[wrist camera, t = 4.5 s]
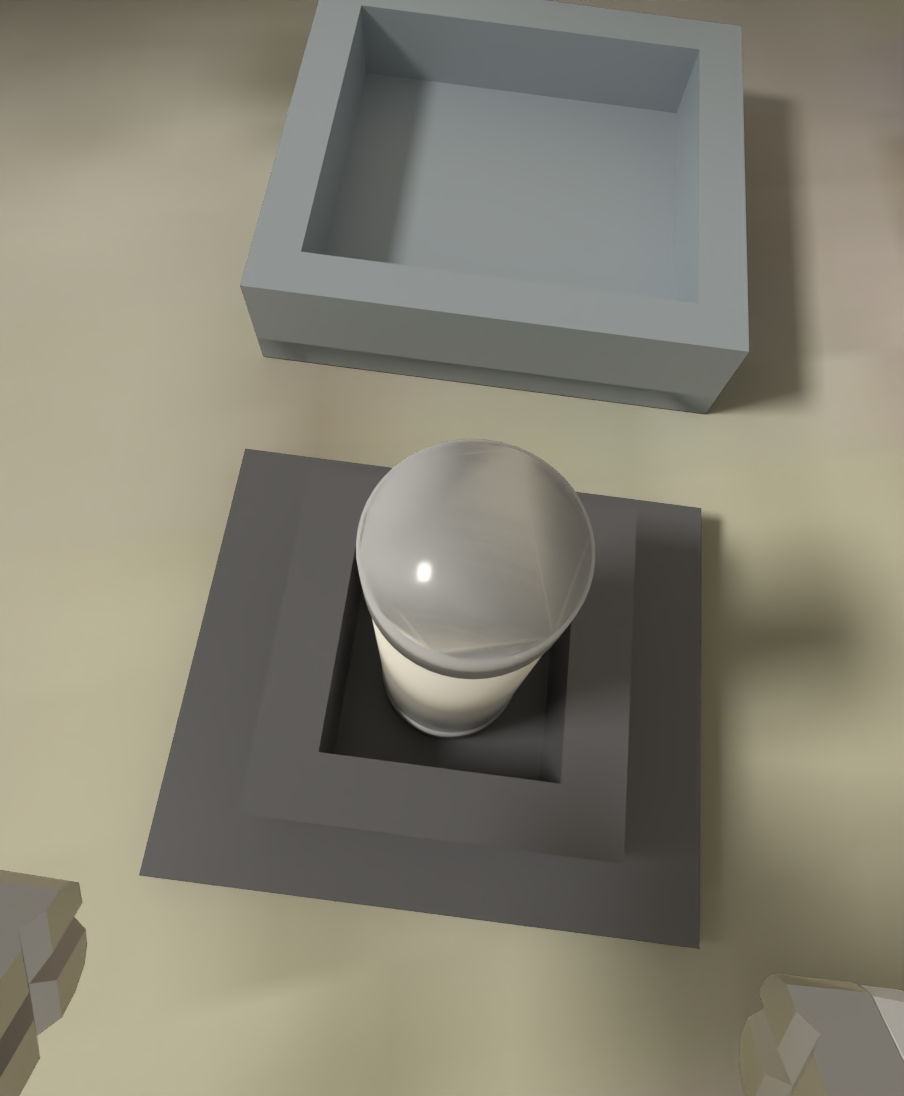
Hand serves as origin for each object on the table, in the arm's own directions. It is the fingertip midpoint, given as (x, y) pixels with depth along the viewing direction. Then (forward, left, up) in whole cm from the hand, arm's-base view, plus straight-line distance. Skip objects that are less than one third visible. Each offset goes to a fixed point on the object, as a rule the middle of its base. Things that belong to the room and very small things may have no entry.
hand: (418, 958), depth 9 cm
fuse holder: (0, +5, -11) cm, 13 cm away
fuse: (0, +5, -10) cm, 12 cm away
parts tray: (0, +22, -11) cm, 25 cm away
